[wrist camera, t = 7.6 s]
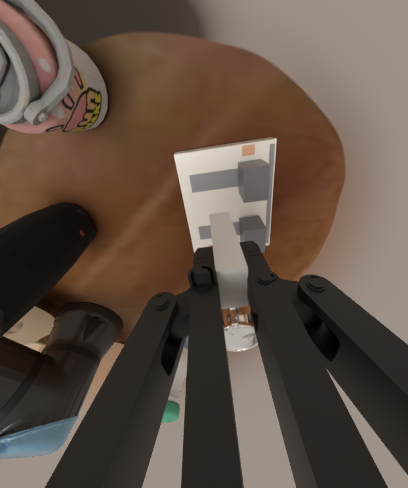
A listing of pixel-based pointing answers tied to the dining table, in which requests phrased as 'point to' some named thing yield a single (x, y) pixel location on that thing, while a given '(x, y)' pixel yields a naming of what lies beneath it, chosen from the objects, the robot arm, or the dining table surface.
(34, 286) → the portable speaker
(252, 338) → the beer glass
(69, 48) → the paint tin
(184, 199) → the switch panel
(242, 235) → the tab
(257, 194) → the tab
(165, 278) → the dining table surface
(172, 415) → the milk bottle
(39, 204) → the dining table surface
